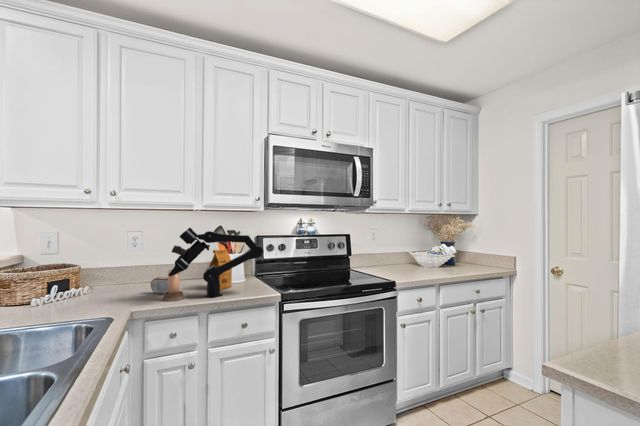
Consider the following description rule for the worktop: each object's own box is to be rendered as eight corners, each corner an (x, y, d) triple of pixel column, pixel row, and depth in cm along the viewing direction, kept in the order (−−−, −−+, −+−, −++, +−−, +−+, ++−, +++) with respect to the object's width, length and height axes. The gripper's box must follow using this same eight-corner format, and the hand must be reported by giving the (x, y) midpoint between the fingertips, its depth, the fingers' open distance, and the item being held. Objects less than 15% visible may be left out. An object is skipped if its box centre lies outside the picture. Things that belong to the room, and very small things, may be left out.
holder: (187, 298, 163) (187, 292, 163) (169, 302, 156) (169, 295, 156) (176, 296, 168) (176, 290, 169) (159, 299, 161) (159, 293, 161)
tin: (177, 293, 174) (177, 277, 174) (173, 295, 171) (173, 278, 171) (154, 292, 178) (154, 276, 178) (149, 293, 175) (149, 277, 175)
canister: (180, 297, 162) (180, 270, 162) (170, 298, 159) (170, 271, 159) (176, 295, 166) (176, 269, 166) (166, 297, 162) (166, 270, 163)
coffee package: (205, 289, 183) (205, 249, 184) (220, 285, 195) (220, 248, 195) (219, 291, 179) (219, 250, 180) (234, 286, 190) (234, 248, 191)
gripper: (183, 238, 173) (160, 260, 169) (180, 240, 155) (154, 265, 151) (199, 253, 175) (176, 275, 171) (198, 257, 157) (173, 281, 154)
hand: (170, 274), depth 162 cm, fingers open, 9 cm apart
